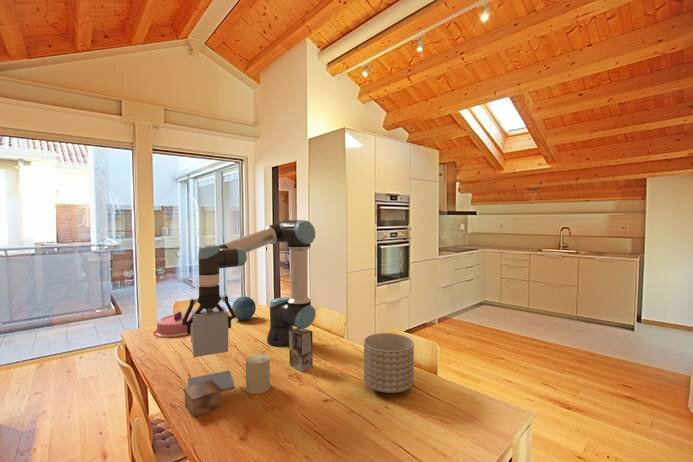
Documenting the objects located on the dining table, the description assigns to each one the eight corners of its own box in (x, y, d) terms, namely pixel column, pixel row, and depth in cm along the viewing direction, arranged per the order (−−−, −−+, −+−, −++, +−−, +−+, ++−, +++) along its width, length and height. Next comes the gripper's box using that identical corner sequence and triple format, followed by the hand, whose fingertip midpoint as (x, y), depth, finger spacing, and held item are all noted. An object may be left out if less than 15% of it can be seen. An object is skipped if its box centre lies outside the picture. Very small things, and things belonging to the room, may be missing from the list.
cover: (224, 341, 140) (223, 302, 139) (228, 351, 129) (227, 309, 128) (192, 346, 134) (191, 305, 133) (193, 357, 123) (193, 313, 123)
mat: (229, 371, 143) (229, 370, 143) (234, 387, 129) (234, 387, 129) (187, 379, 136) (187, 378, 136) (189, 398, 121) (189, 397, 121)
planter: (381, 406, 116) (381, 355, 115) (355, 382, 133) (355, 337, 132) (423, 393, 125) (424, 345, 124) (394, 372, 142) (394, 330, 141)
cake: (188, 338, 183) (188, 319, 182) (143, 338, 183) (143, 319, 183) (207, 324, 208) (207, 307, 207) (168, 323, 208) (167, 307, 208)
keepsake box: (211, 395, 123) (211, 379, 123) (221, 406, 116) (221, 389, 115) (183, 405, 116) (183, 388, 116) (192, 417, 109) (192, 399, 109)
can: (263, 395, 123) (263, 363, 123) (241, 392, 125) (240, 361, 125) (274, 383, 132) (273, 353, 132) (252, 381, 134) (252, 351, 134)
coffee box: (313, 367, 146) (313, 331, 146) (301, 372, 142) (301, 334, 141) (300, 361, 153) (299, 326, 152) (288, 365, 148) (288, 330, 147)
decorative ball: (227, 322, 209) (226, 299, 209) (238, 315, 224) (238, 293, 224) (249, 323, 207) (249, 300, 206) (259, 316, 222) (259, 294, 221)
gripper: (239, 280, 140) (240, 331, 140) (174, 285, 128) (175, 340, 129) (242, 283, 133) (243, 336, 134) (174, 289, 122) (175, 347, 122)
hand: (209, 338), depth 131 cm, fingers closed on cover, 12 cm apart
